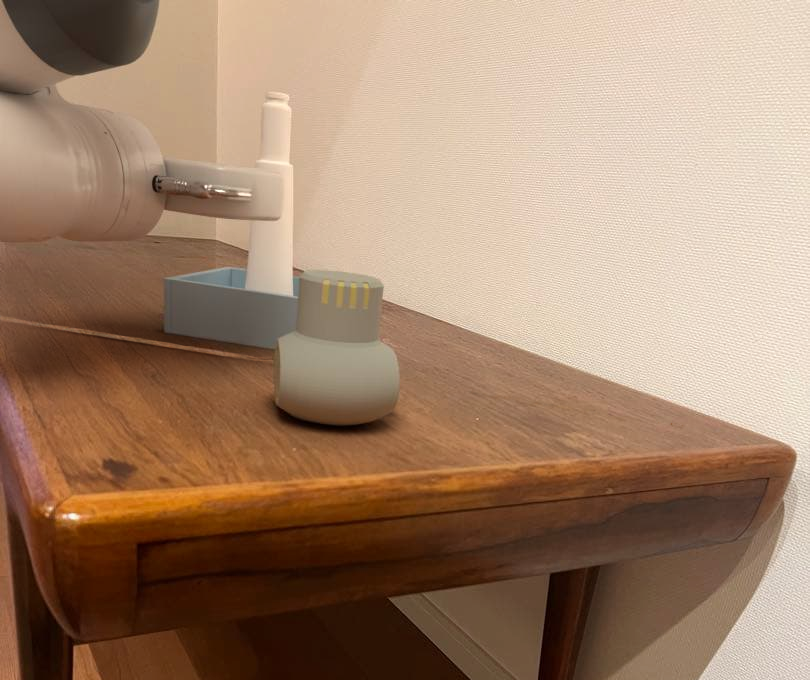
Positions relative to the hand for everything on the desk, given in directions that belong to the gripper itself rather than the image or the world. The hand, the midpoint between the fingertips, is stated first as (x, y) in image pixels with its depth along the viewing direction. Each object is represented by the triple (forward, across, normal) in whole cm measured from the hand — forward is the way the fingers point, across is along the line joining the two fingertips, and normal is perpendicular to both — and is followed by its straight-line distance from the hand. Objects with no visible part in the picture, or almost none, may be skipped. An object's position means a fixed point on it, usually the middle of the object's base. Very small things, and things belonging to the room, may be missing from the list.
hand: (218, 186), depth 69 cm
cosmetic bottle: (+9, 0, +14) cm, 16 cm away
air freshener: (-12, -19, +14) cm, 27 cm away
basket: (+9, 0, +14) cm, 17 cm away
